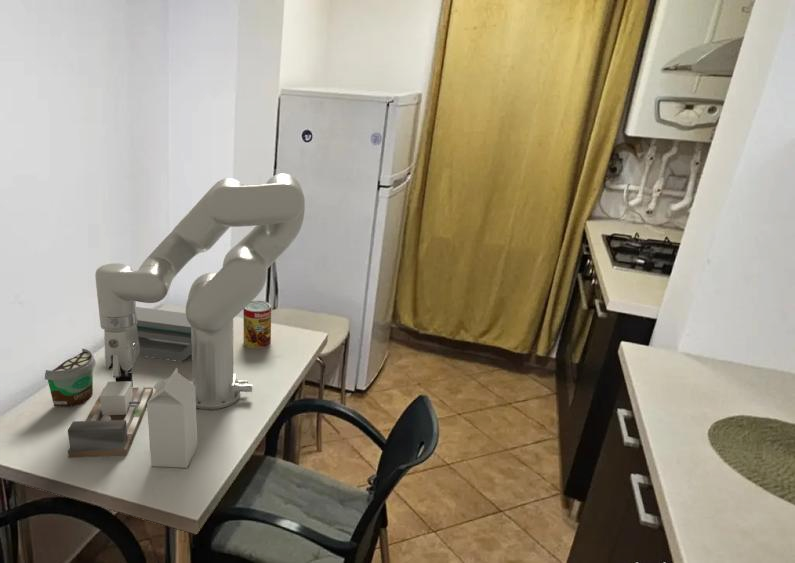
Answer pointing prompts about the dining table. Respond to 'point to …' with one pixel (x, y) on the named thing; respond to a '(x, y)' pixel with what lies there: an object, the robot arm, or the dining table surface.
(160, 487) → the dining table surface
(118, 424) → the gauge board
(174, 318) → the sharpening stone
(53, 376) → the food container
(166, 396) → the milk carton
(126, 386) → the gauge carriage
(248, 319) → the canned food
